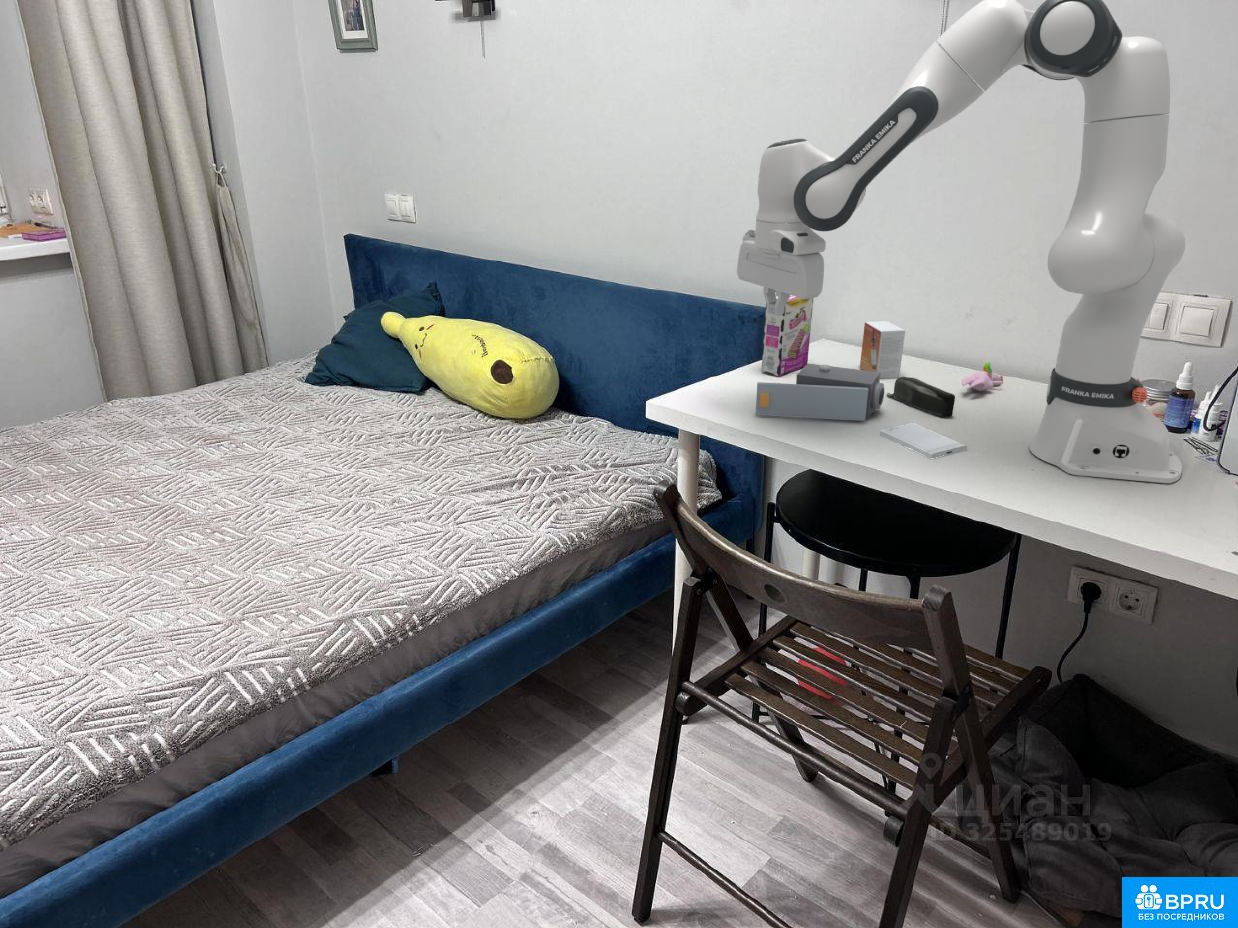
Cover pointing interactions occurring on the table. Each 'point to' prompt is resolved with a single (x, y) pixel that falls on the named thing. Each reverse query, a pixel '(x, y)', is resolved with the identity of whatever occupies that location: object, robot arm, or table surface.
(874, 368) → the small box
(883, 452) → the table surface
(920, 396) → the dark green rounded block
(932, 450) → the hard drive
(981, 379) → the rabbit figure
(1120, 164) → the robot arm
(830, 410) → the side door
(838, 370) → the box
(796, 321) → the candy bar box
